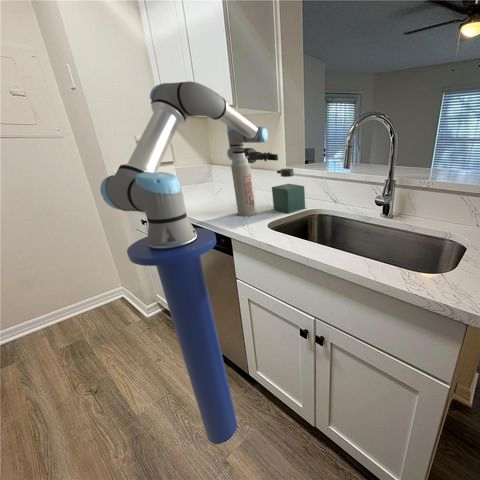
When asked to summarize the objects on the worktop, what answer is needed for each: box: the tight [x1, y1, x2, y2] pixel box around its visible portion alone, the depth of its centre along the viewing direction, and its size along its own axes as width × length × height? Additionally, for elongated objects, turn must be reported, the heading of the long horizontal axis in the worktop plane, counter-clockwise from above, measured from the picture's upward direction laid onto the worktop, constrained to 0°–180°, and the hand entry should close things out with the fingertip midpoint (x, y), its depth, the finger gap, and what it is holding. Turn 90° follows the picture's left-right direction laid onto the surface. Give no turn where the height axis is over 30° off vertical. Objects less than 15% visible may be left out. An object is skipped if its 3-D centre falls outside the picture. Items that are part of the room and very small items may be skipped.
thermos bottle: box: [230, 151, 256, 217], centre depth 117 cm, size 8×8×28 cm
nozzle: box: [276, 167, 295, 178], centre depth 123 cm, size 10×6×3 cm, turn 49°
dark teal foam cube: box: [271, 183, 306, 214], centre depth 127 cm, size 13×11×11 cm
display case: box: [134, 135, 178, 178], centre depth 147 cm, size 11×11×35 cm
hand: (276, 157), depth 123 cm, fingers closed
